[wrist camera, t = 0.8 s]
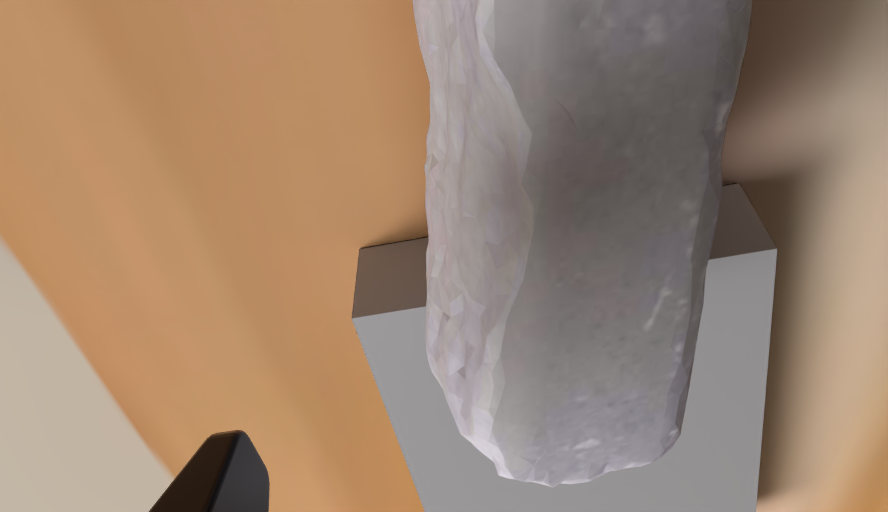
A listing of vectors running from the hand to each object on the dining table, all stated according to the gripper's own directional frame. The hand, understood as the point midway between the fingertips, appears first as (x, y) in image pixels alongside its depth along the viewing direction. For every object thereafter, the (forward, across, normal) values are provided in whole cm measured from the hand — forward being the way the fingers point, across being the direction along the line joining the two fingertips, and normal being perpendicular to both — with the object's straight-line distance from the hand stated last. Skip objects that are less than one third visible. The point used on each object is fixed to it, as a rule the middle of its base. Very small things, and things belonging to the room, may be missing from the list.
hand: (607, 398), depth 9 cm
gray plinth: (+12, 0, +14) cm, 18 cm away
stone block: (+12, 0, 0) cm, 12 cm away
